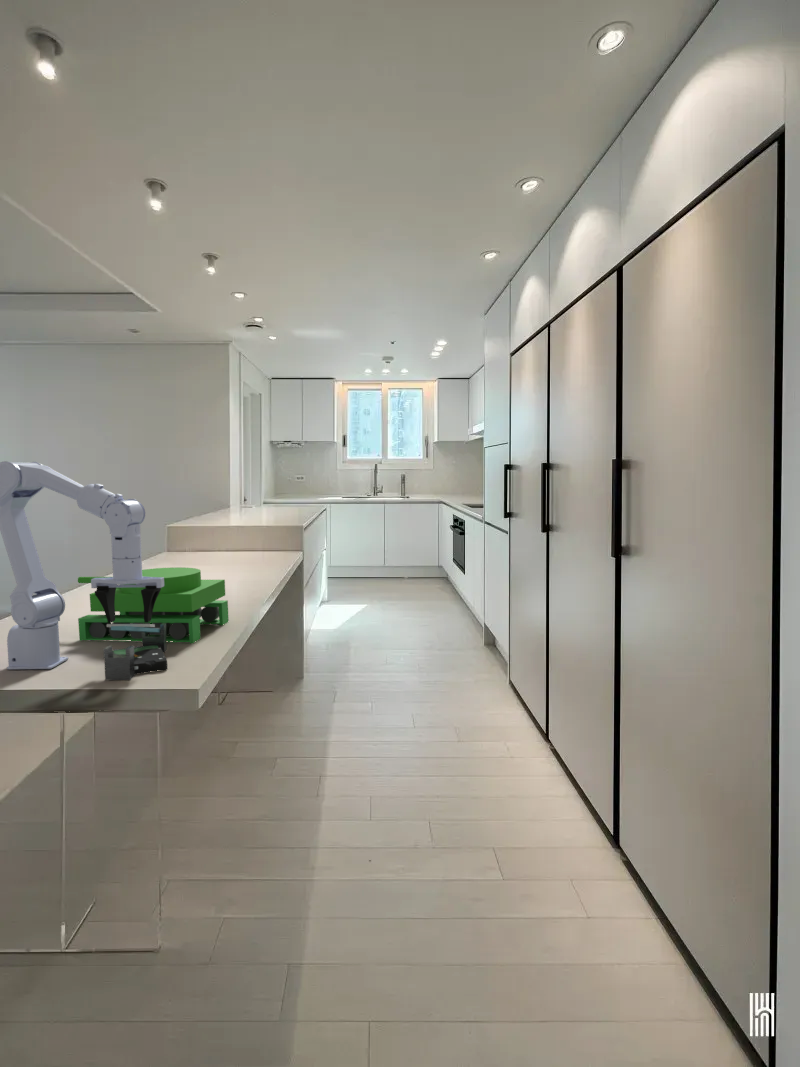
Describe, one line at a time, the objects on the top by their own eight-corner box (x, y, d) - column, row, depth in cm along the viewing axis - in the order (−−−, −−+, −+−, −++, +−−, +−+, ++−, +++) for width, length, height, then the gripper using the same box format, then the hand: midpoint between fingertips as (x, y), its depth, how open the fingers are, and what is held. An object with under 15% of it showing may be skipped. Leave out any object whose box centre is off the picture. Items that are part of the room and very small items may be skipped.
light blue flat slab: (95, 631, 134) (96, 623, 134) (135, 633, 155) (135, 626, 155) (140, 630, 134) (141, 622, 134) (174, 633, 155) (174, 626, 155)
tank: (111, 621, 190) (108, 565, 189) (229, 622, 186) (227, 564, 185) (59, 643, 166) (54, 579, 165) (193, 644, 162) (190, 578, 161)
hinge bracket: (142, 652, 154) (141, 624, 153) (144, 650, 156) (143, 623, 155) (164, 652, 154) (163, 624, 153) (167, 650, 156) (166, 622, 155)
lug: (104, 680, 134) (103, 648, 133) (109, 676, 136) (108, 645, 135) (130, 679, 134) (129, 648, 133) (135, 676, 136) (134, 645, 136)
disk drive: (168, 672, 141) (159, 654, 154) (168, 659, 140) (159, 643, 154) (115, 679, 136) (110, 660, 149) (115, 666, 136) (110, 648, 149)
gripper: (83, 560, 135) (86, 626, 136) (155, 559, 135) (157, 625, 136) (98, 555, 142) (101, 618, 143) (166, 555, 142) (168, 617, 143)
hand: (129, 621), depth 140 cm, fingers open, 7 cm apart
